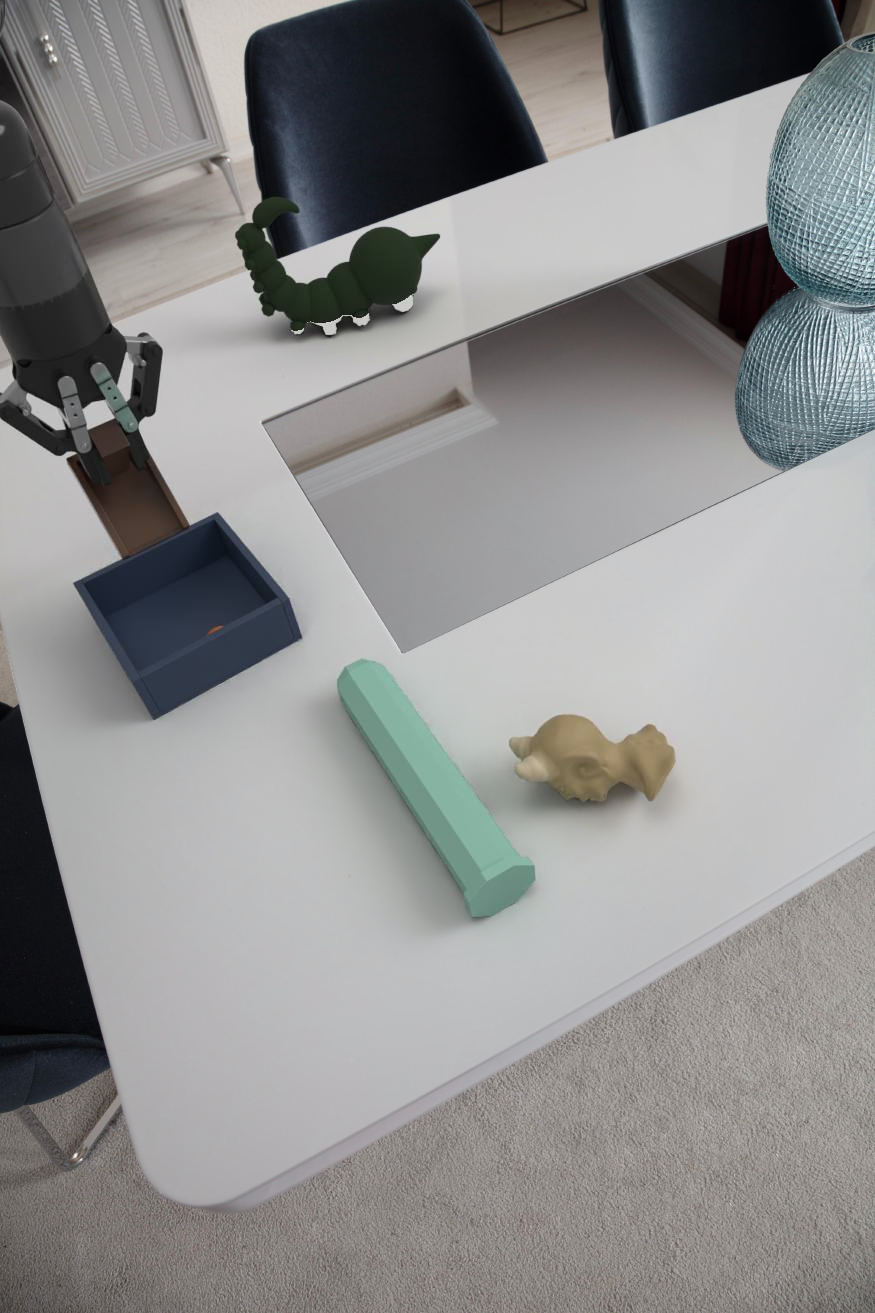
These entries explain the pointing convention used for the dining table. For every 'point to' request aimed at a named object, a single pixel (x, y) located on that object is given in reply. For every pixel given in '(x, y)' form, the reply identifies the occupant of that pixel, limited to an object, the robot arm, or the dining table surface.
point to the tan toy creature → (592, 758)
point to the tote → (189, 613)
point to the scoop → (129, 495)
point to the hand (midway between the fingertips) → (122, 471)
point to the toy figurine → (333, 271)
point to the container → (435, 791)
